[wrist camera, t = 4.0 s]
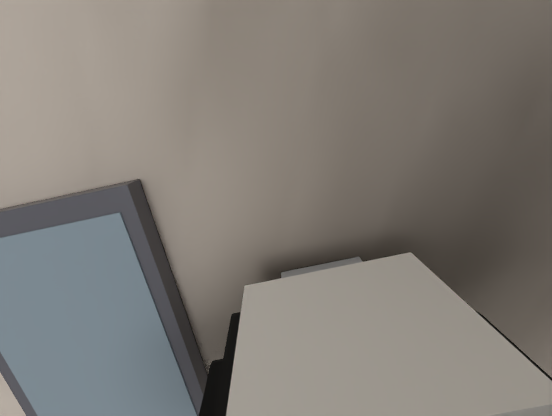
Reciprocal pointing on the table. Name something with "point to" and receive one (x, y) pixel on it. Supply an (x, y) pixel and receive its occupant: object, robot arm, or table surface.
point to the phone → (94, 310)
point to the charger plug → (375, 348)
